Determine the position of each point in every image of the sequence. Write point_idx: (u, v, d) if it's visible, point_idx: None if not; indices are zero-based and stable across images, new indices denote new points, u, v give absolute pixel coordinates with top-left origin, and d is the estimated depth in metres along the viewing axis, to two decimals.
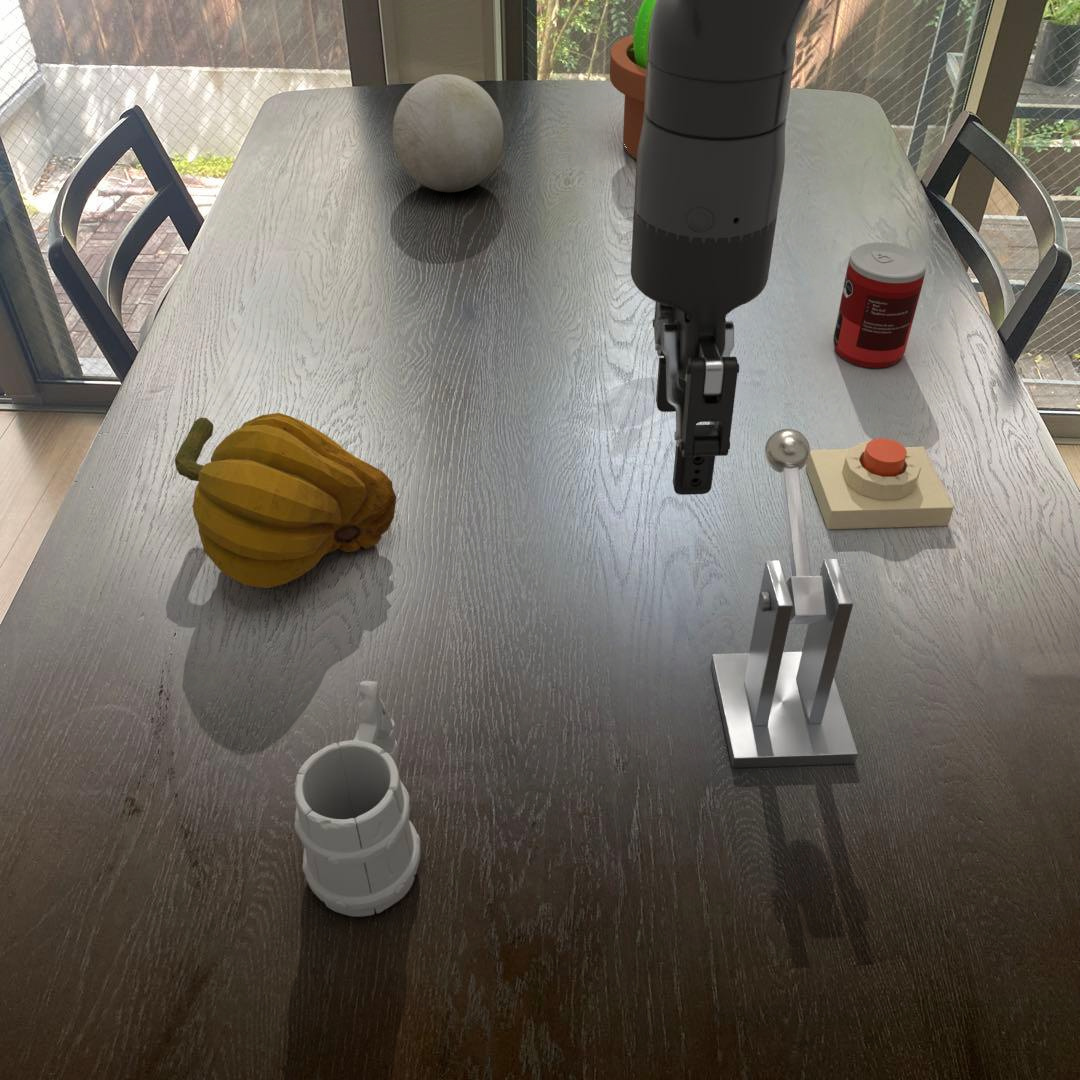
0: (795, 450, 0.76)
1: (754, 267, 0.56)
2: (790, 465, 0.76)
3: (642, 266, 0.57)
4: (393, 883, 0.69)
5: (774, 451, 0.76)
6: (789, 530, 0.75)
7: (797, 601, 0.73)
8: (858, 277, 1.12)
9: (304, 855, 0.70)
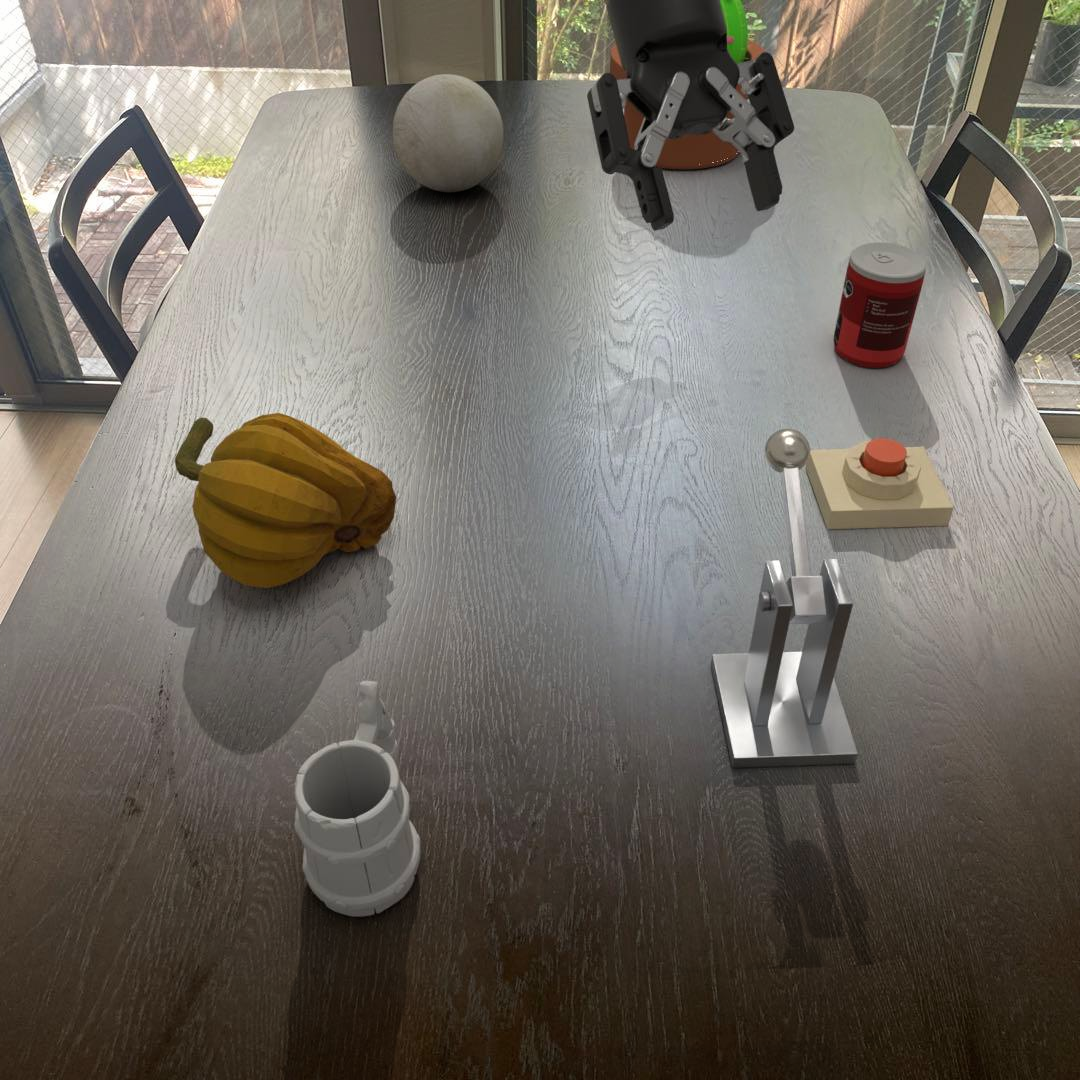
0: (795, 450, 0.76)
1: (643, 8, 0.72)
2: (790, 465, 0.76)
3: None
4: (393, 883, 0.69)
5: (774, 451, 0.76)
6: (789, 530, 0.75)
7: (797, 601, 0.73)
8: (858, 277, 1.12)
9: (304, 855, 0.70)
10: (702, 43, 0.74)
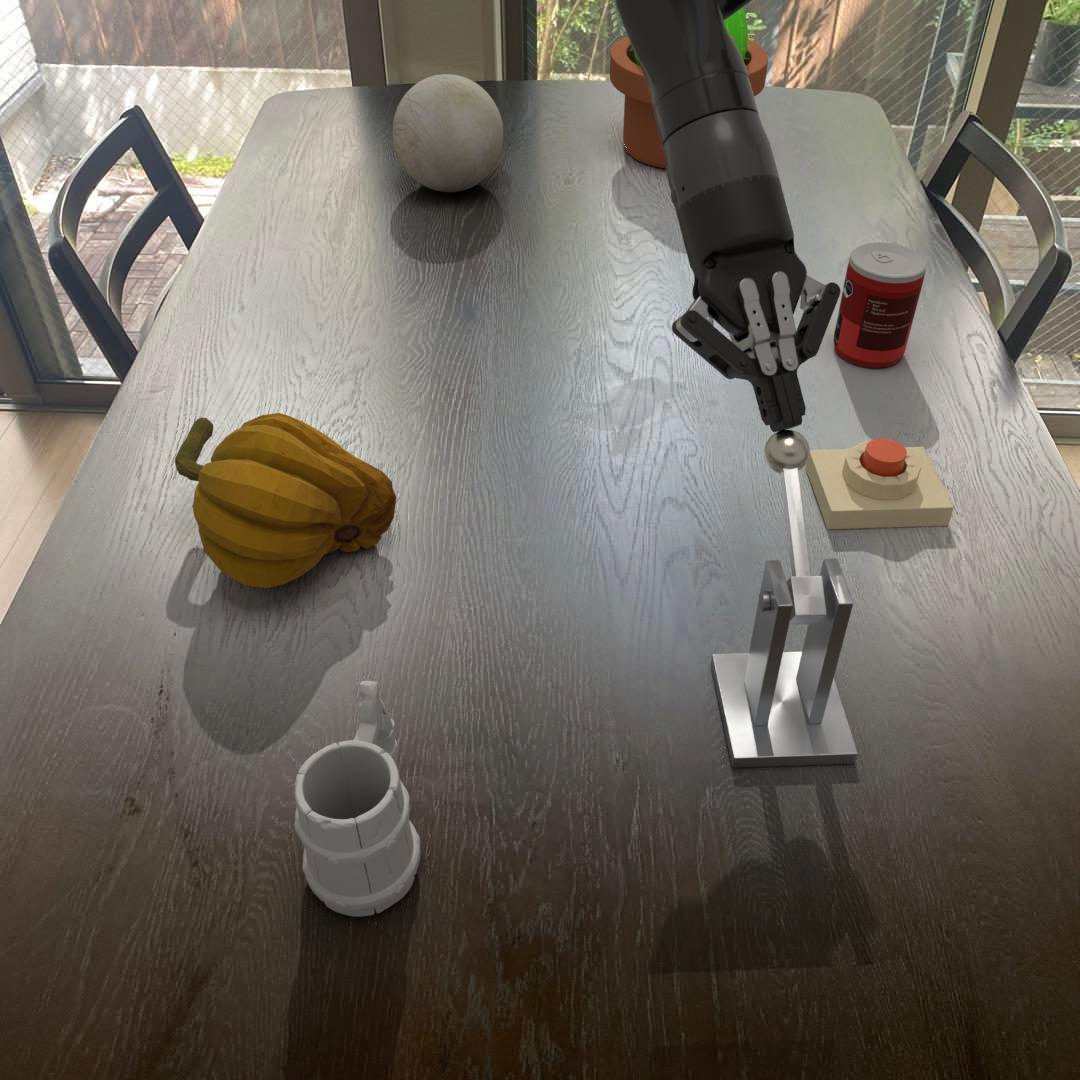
0: (795, 451, 0.76)
1: (710, 220, 0.74)
2: (790, 465, 0.76)
3: None
4: (393, 883, 0.69)
5: (773, 452, 0.76)
6: (789, 530, 0.75)
7: (797, 601, 0.73)
8: (858, 277, 1.12)
9: (304, 855, 0.70)
10: (768, 248, 0.76)
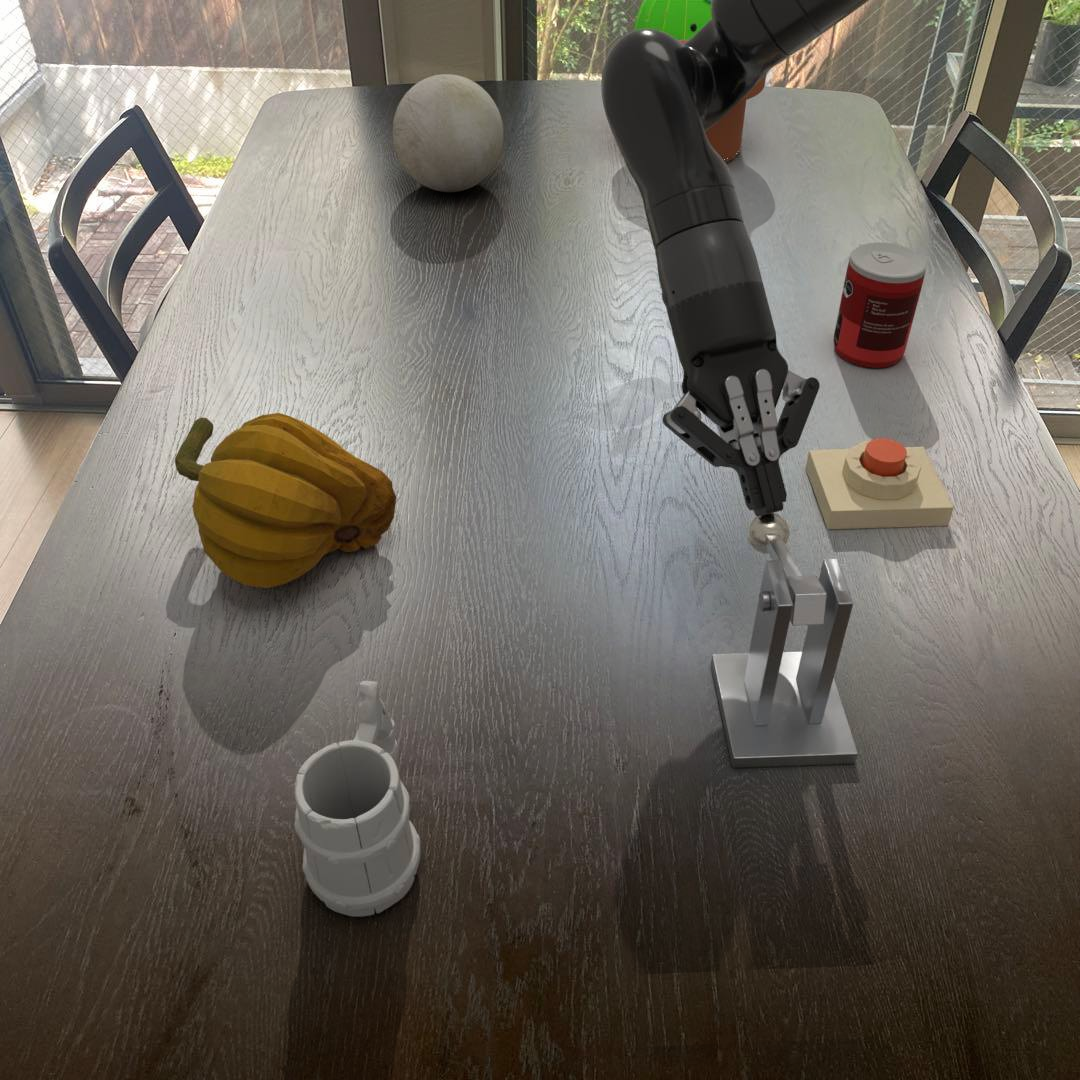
0: (773, 518, 0.83)
1: (697, 323, 0.80)
2: (771, 531, 0.82)
3: None
4: (393, 883, 0.69)
5: (754, 524, 0.83)
6: None
7: (795, 587, 0.73)
8: (858, 277, 1.12)
9: (304, 855, 0.70)
10: (752, 347, 0.82)
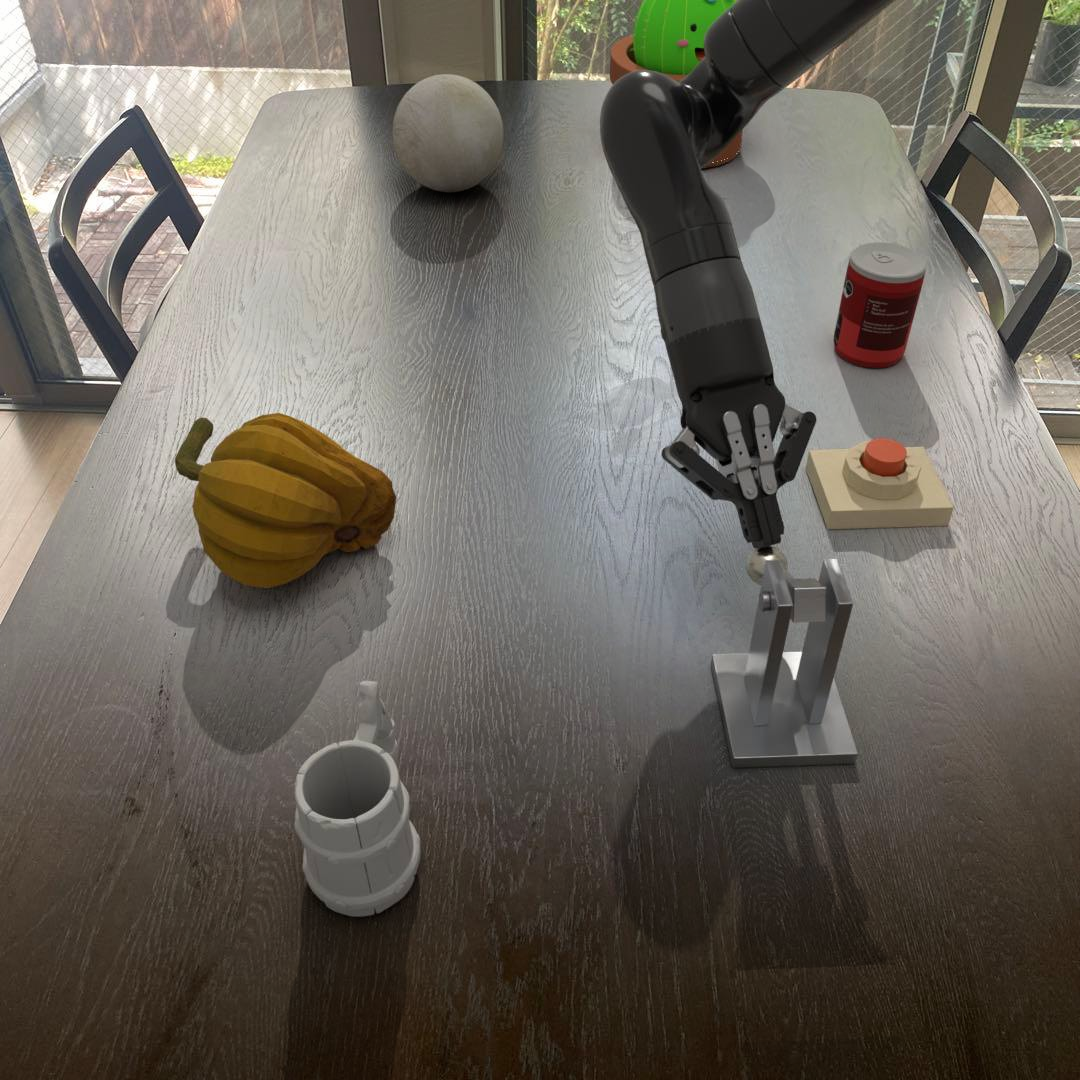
0: (771, 548, 0.84)
1: (696, 359, 0.81)
2: (769, 560, 0.83)
3: None
4: (393, 883, 0.69)
5: (752, 555, 0.84)
6: None
7: (794, 584, 0.73)
8: (858, 277, 1.12)
9: (304, 855, 0.70)
10: (750, 382, 0.83)
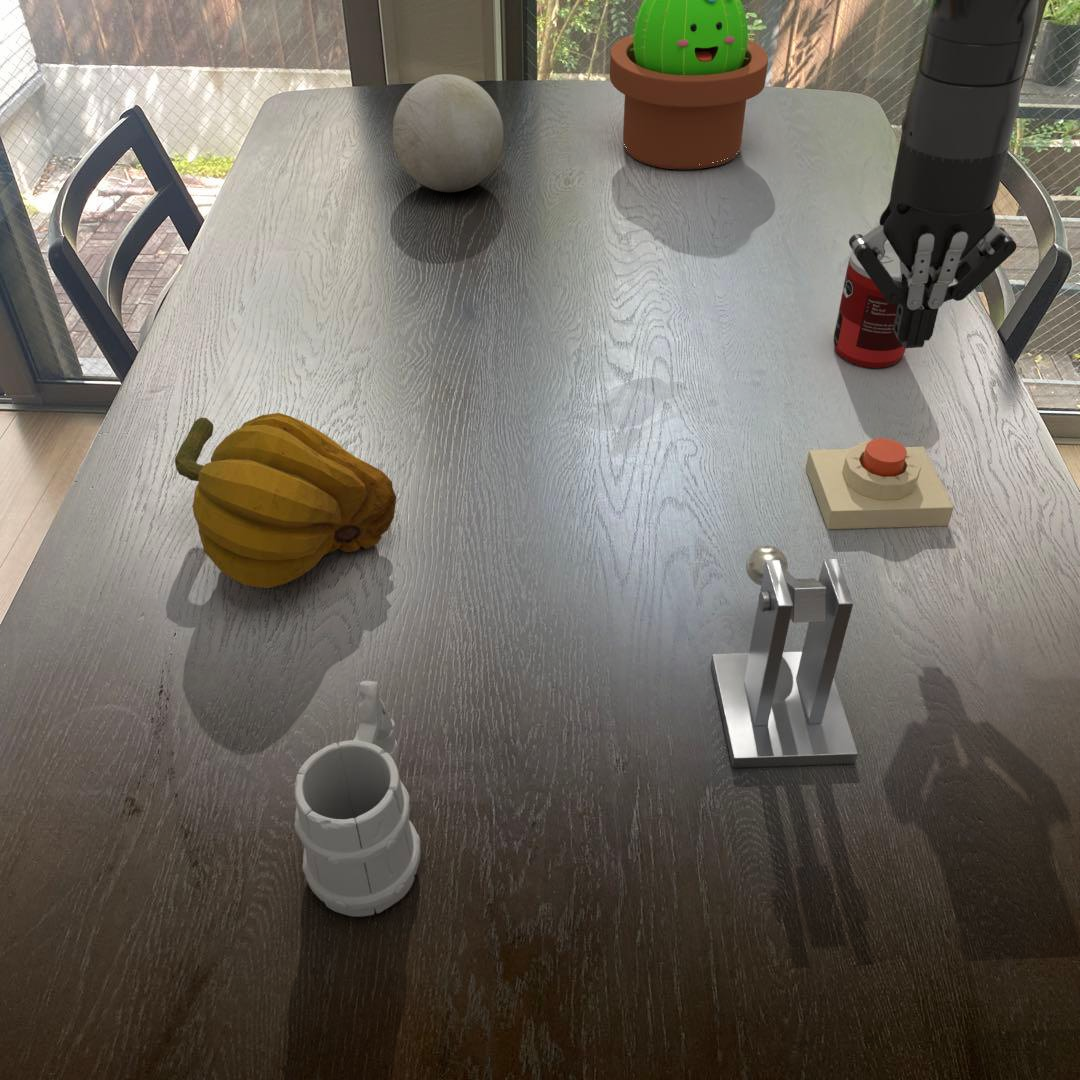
0: (771, 549, 0.84)
1: (917, 181, 0.78)
2: (769, 560, 0.83)
3: None
4: (393, 883, 0.69)
5: (752, 555, 0.84)
6: None
7: (794, 584, 0.73)
8: (858, 277, 1.12)
9: (304, 855, 0.70)
10: None
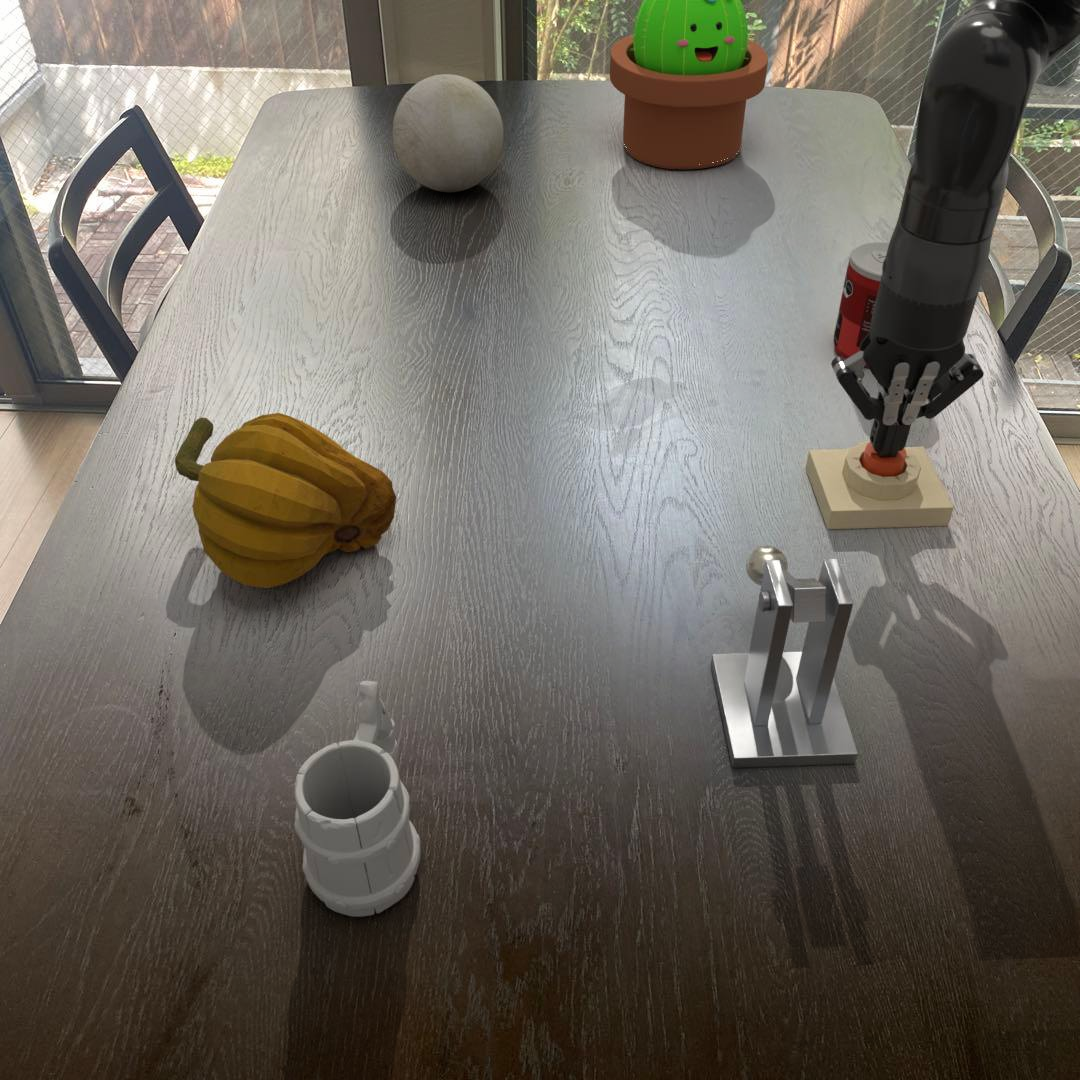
0: (771, 549, 0.84)
1: (895, 319, 0.85)
2: (769, 560, 0.83)
3: None
4: (393, 883, 0.69)
5: (752, 555, 0.84)
6: None
7: (794, 584, 0.73)
8: (858, 277, 1.12)
9: (304, 855, 0.70)
10: None
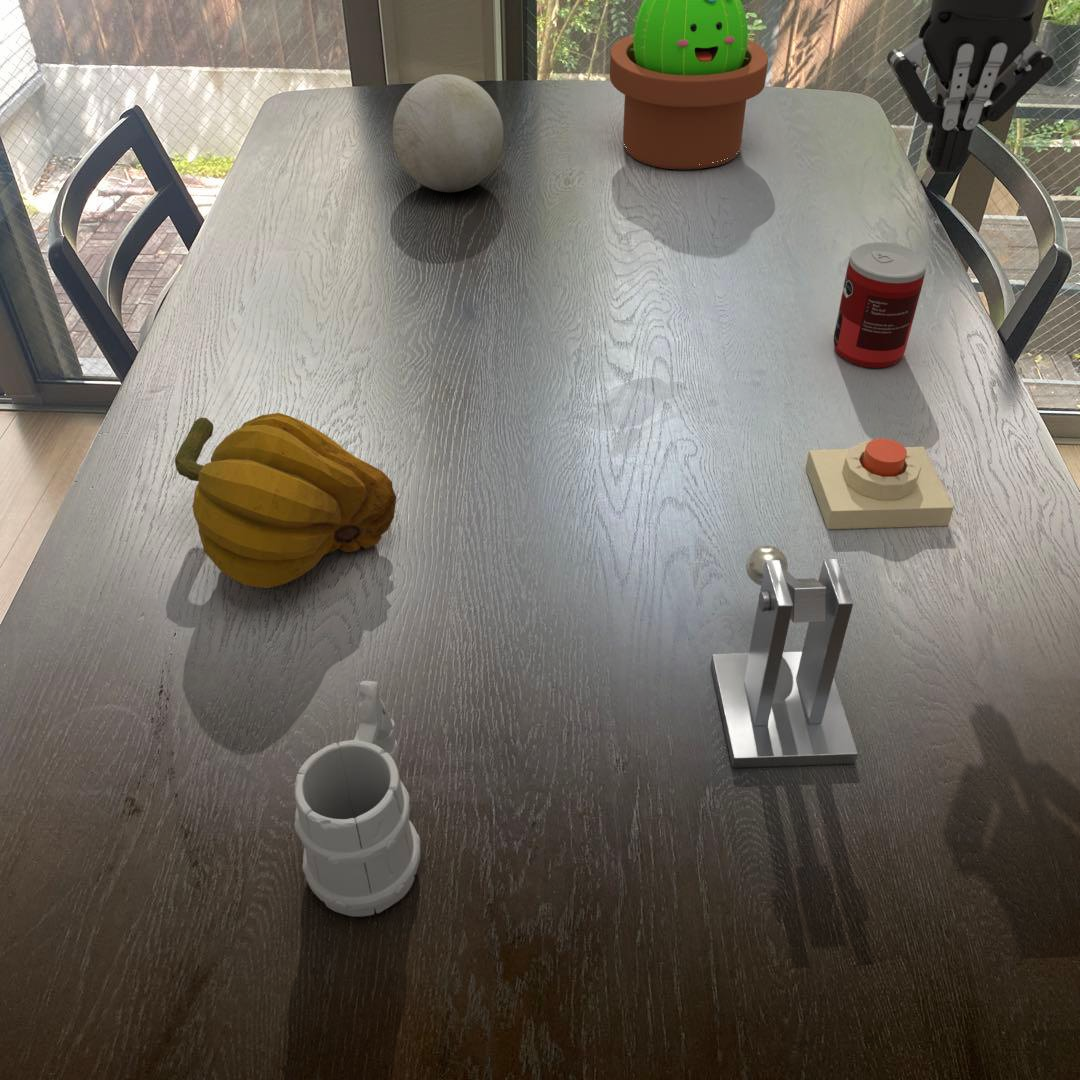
0: (771, 549, 0.84)
1: None
2: (769, 560, 0.83)
3: None
4: (393, 883, 0.69)
5: (752, 555, 0.84)
6: None
7: (794, 584, 0.73)
8: (858, 277, 1.12)
9: (304, 855, 0.70)
10: None
